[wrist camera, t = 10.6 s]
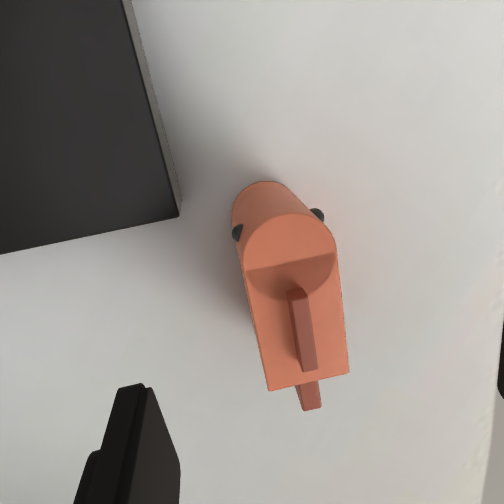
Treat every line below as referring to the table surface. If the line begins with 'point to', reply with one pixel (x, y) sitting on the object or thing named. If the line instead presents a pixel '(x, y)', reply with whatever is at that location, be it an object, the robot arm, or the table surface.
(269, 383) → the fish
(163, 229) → the table surface
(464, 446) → the table surface
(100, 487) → the robot arm
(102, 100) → the hot plate
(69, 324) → the table surface
